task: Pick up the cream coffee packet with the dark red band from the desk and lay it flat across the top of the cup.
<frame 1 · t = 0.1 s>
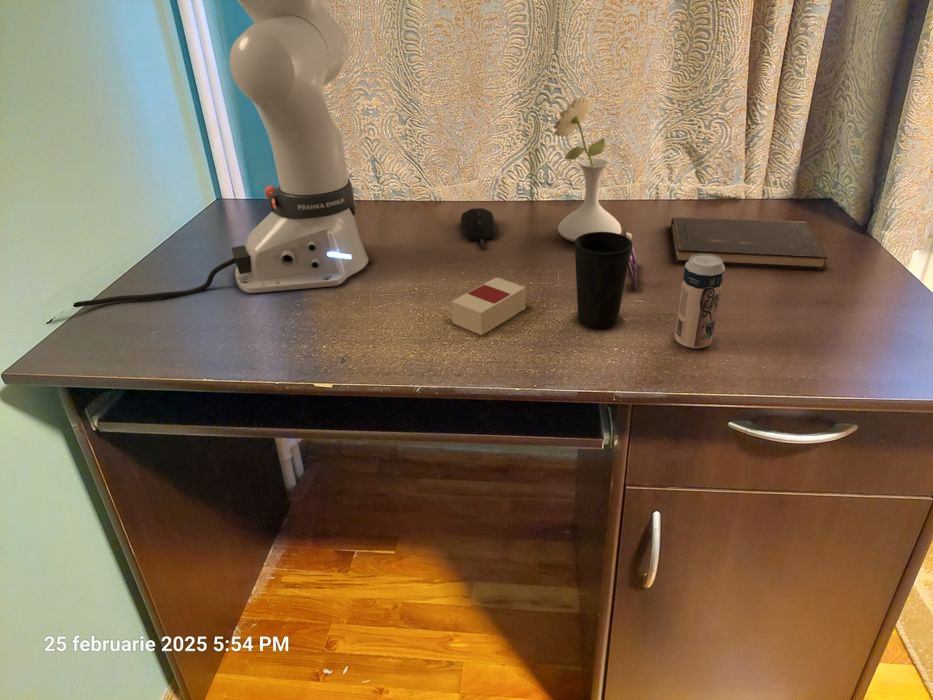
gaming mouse: (479, 234, 125), on the table
hardcover book: (741, 248, 116), on the table
packet: (489, 315, 98), on the table
cup: (597, 321, 96), on the table
purple toy figure frame: (621, 279, 107), on the table
flower in vase: (584, 239, 121), on the table
beer can: (692, 342, 90), on the table
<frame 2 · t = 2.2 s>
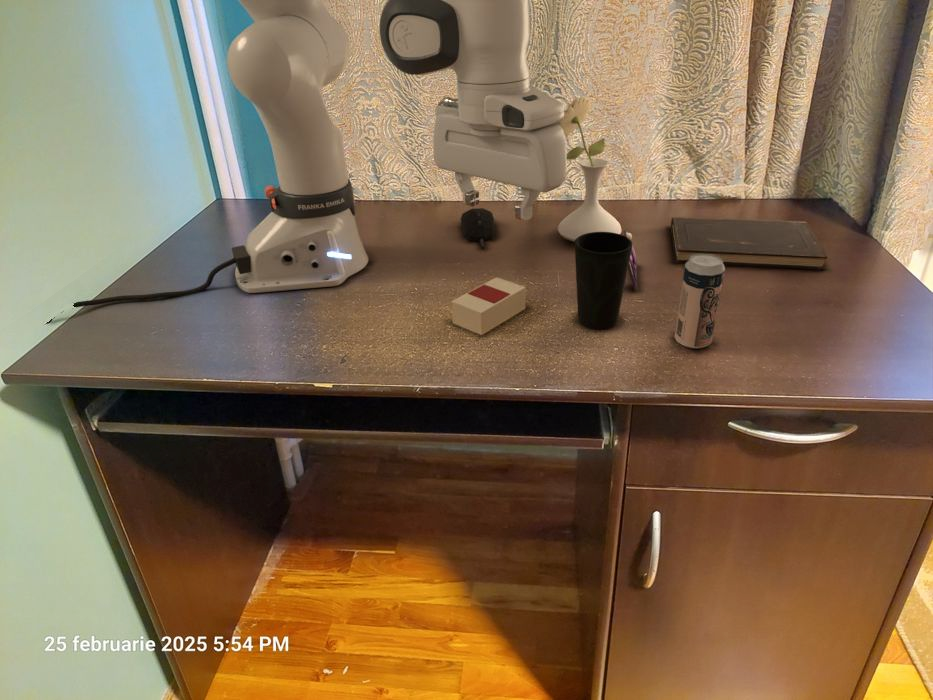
hand: (496, 211, 89), 16 cm above the table, tool pointing down, fingers open, 8 cm apart
nothing on the table moved.
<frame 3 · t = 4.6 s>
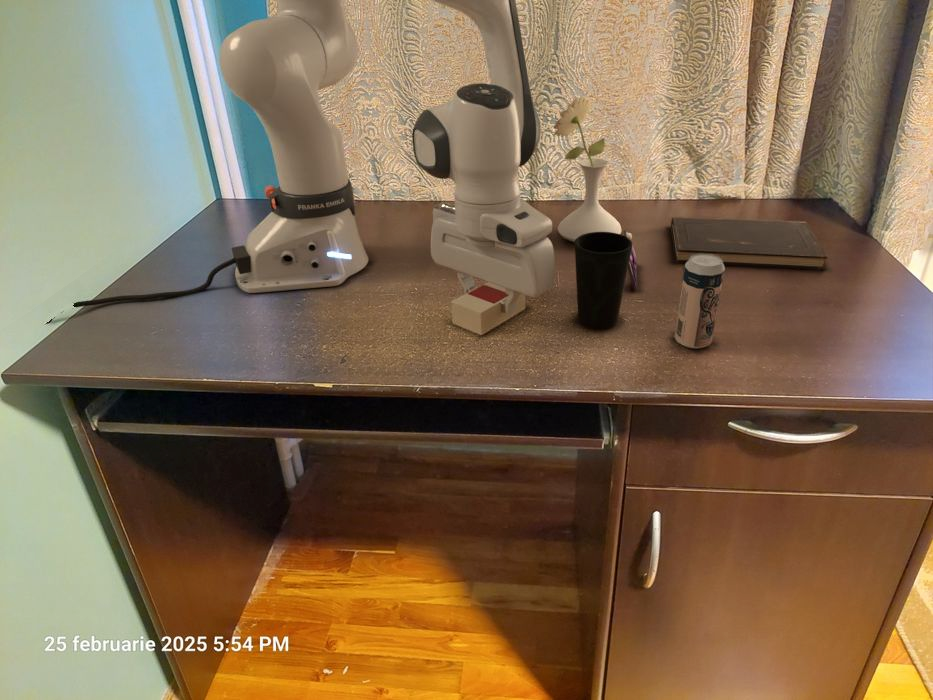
hand: (489, 305, 97), 2 cm above the table, tool pointing down, fingers closed on packet, 5 cm apart
packet: (489, 316, 98), on the table, touching gripper
everything else where it was.
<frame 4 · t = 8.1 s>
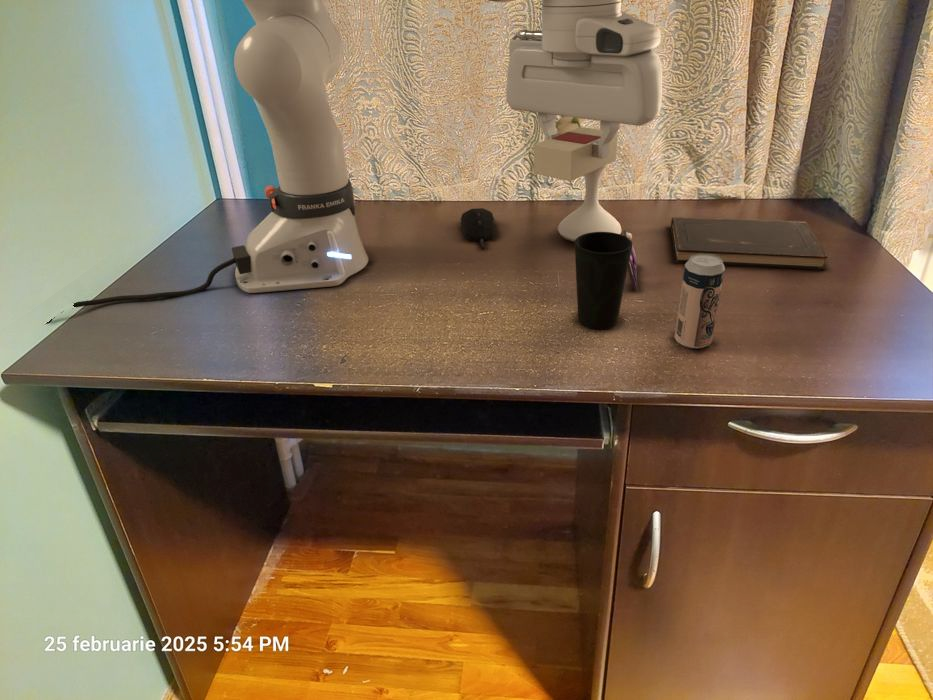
hand: (576, 153, 83), 24 cm above the table, tool pointing down, fingers closed on packet, 5 cm apart
packet: (575, 167, 84), point 22 cm above the table, touching gripper
everything else where it was.
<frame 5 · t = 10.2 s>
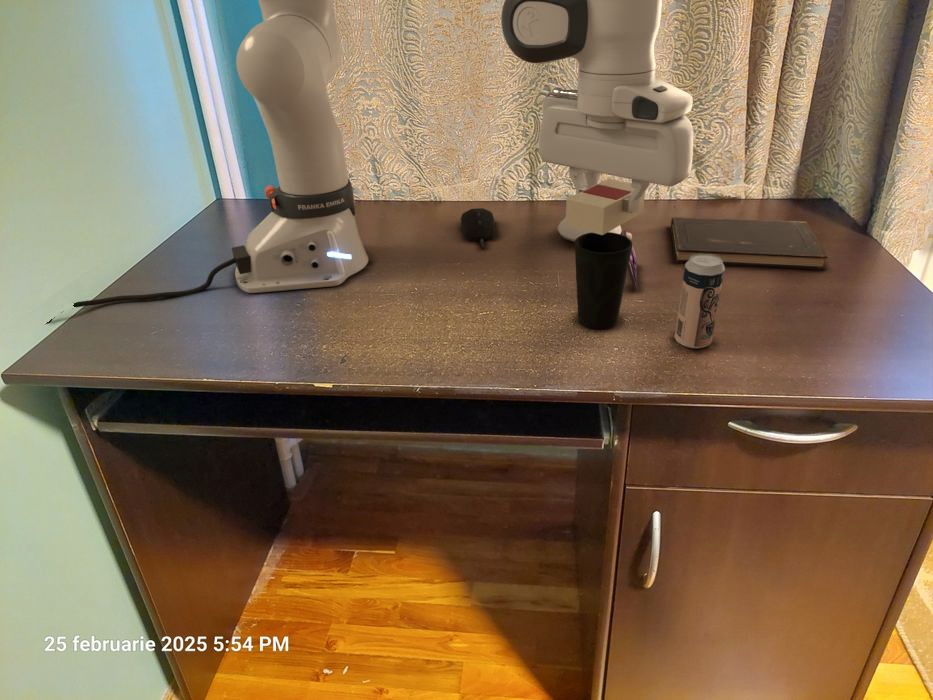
hand: (606, 206, 87), 17 cm above the table, tool pointing down, fingers closed on packet, 5 cm apart
packet: (604, 218, 87), point 15 cm above the table, touching gripper
everything else where it was.
when the fingers open (14 cm above the table, at t = 11.7 s): packet stays where it is, resting on cup.
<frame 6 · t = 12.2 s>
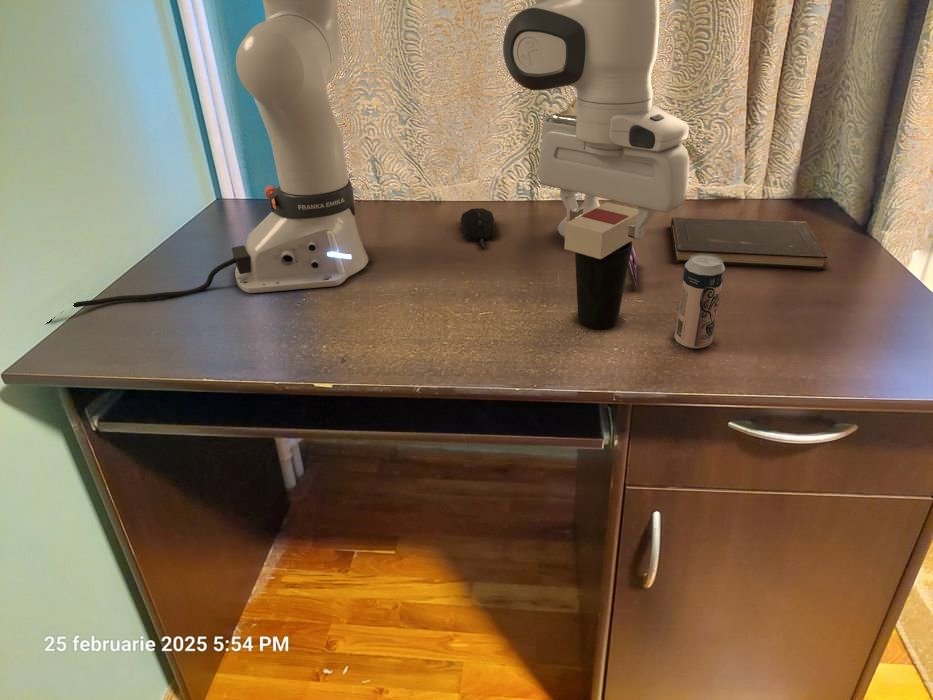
hand: (604, 228, 88), 14 cm above the table, tool pointing down, fingers open, 8 cm apart
packet: (603, 242, 89), point 12 cm above the table, touching cup
cup: (597, 321, 96), on the table, touching packet
everything else where it was.
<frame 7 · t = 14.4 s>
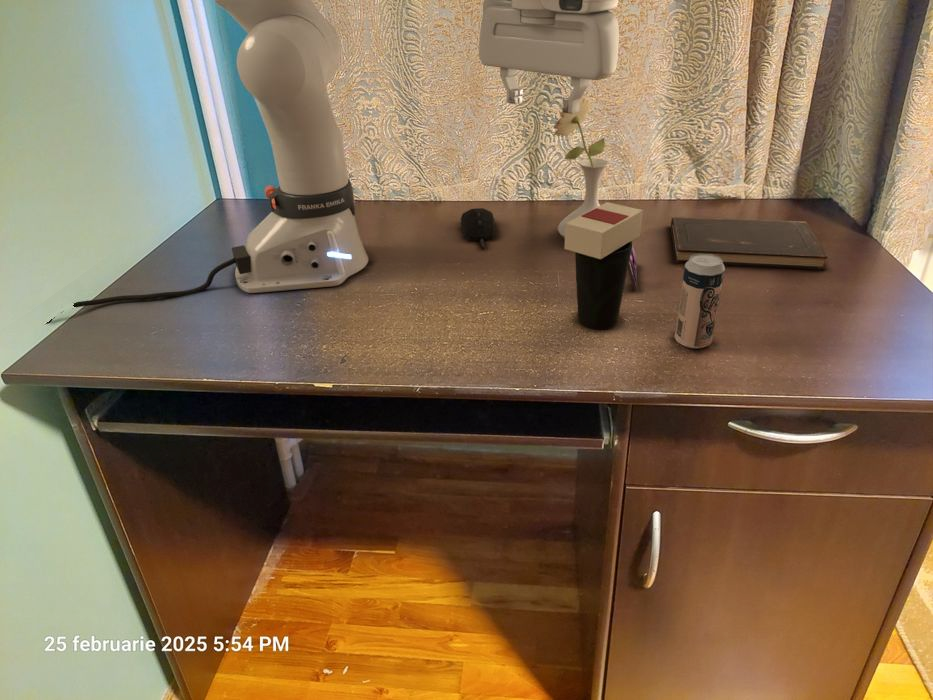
hand: (541, 107, 90), 27 cm above the table, tool pointing down, fingers open, 8 cm apart
nothing on the table moved.
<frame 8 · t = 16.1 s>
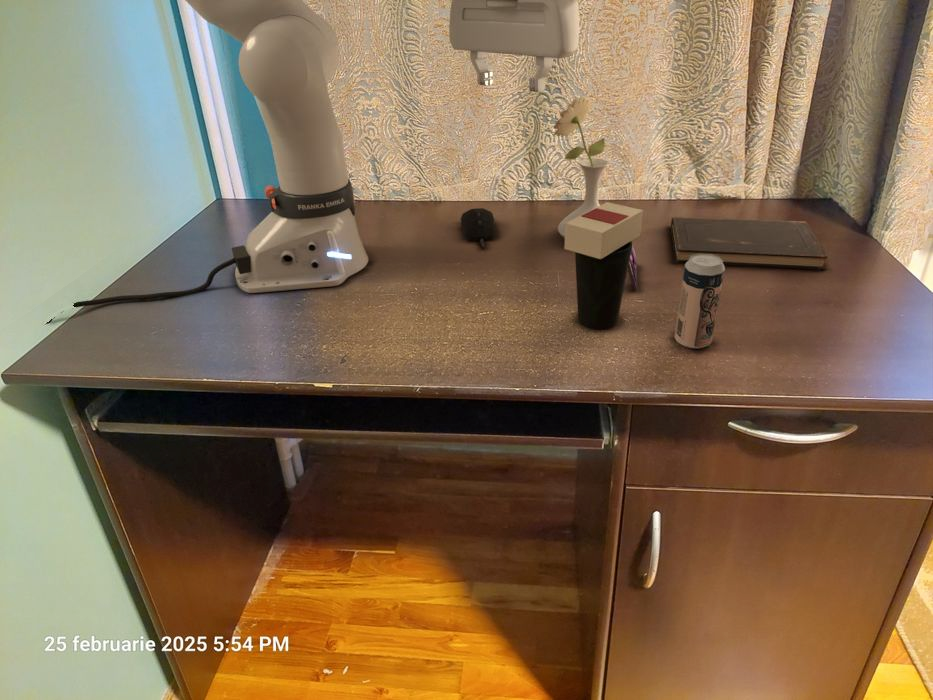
hand: (510, 88, 94), 29 cm above the table, tool pointing down, fingers open, 8 cm apart
nothing on the table moved.
at the end: packet 0.1 cm off-centre on the cup, point 12.2 cm above the cup's base; cup tilted 0°; the gripper is holding nothing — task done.
